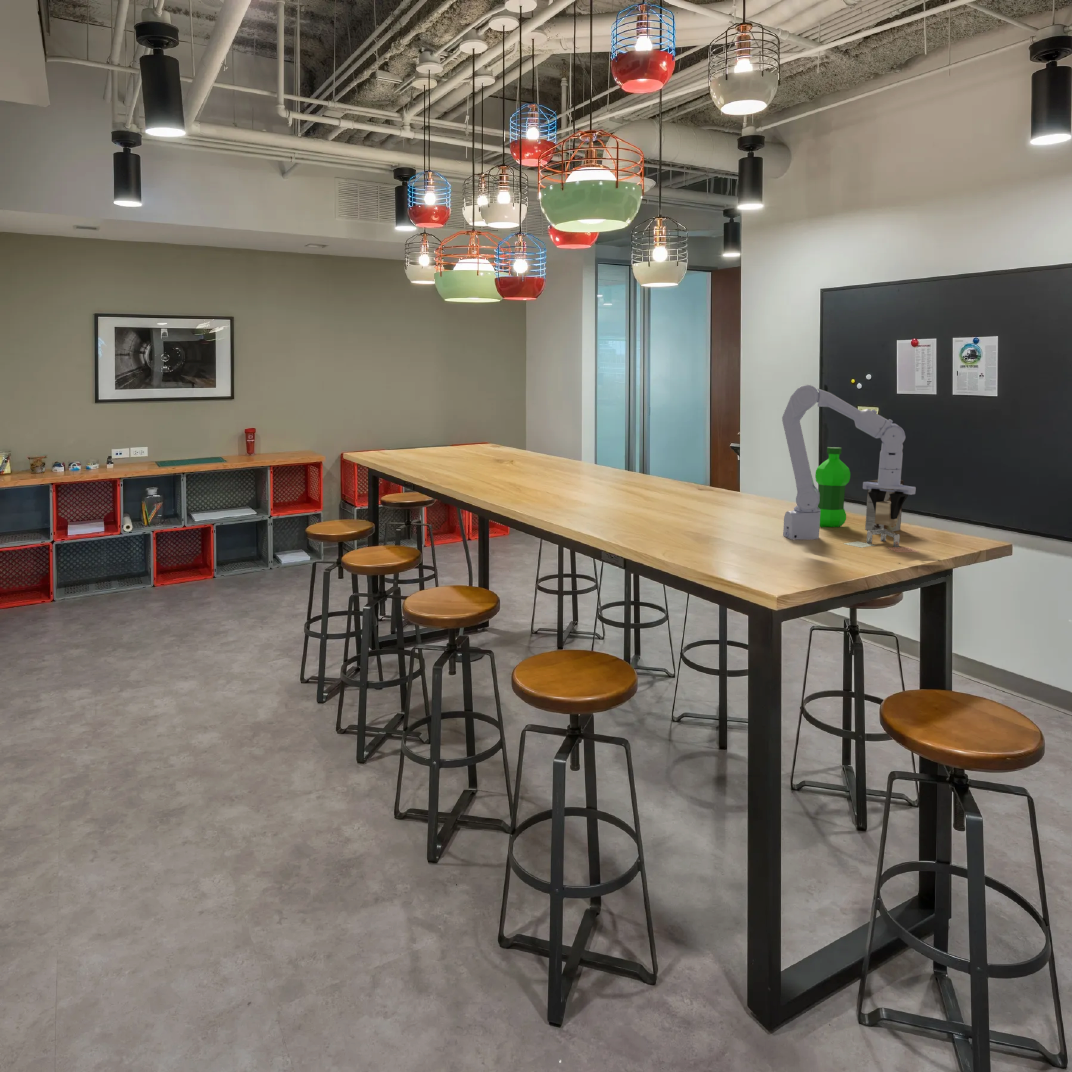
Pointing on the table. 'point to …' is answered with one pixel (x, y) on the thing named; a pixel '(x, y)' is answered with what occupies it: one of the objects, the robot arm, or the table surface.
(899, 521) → the coffee box
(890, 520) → the birch block
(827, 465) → the plastic bottle
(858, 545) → the board
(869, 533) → the bent wire
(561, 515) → the table surface
